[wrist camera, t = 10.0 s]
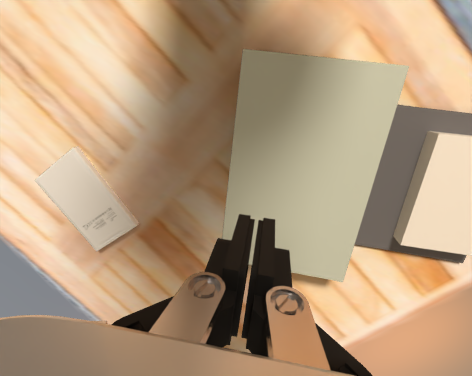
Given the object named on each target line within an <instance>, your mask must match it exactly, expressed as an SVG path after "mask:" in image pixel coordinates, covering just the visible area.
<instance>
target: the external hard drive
mask: <svg viewBox="0 0 472 376" xmlns="http://www.w3.org/2000/svg"><path fill="white" fill-rule="evenodd" d="M35 181H36V183H37V184H38V185H39V186H40V187H41V188H42V190H43V191H44V192H45V193H46V194H47V195H48V196H49V198H50V199H51V200H52V201H53V202H54V203H55V204H56V206H57V207H58V208H59V209H60V210H61V211H62V212H63V214H64V215H65V216H66V217H67V218H68V219H69V221H70V222H71V223H72V224H73V225H74V226H75V227H76V229H77V230H78V231H79V232H80V233H81V234H82V235H83V237H84V238H85V239H86V240H87V241H88V242H89V243H90V245H91V246H92V247H93V248H94V249H95V250H96V251H99V250H100V249H102V248H103V247H105V246H106V245H108V244H109V243H111V242H112V241H114V240H116V239H117V238H119V237H120V236H122V235H124V234H125V233H127V232H128V231H130V230H131V229H133V228H134V227H136V226H137V225H138V224H139V222H138V221H137V219H136V218H135V217H134V216H133V214H132V213H131V212H130V211H129V209H128V208H127V207H126V206H125V204H124V203H123V202H122V201H121V199H120V198H119V197H118V196H117V194H116V193H115V192H114V190H113V189H112V188H111V187H110V185H109V184H108V183H107V182H106V180H105V179H104V178H103V177H102V175H101V174H100V173H99V172H98V170H97V169H96V168H95V167H94V165H93V164H92V163H91V162H90V160H89V159H88V158H87V157H86V155H85V154H84V153H83V152H82V150H81V149H80V148H79V147H74V148H72V149H71V150H69V151H68V152H67V153H66V154H65V155H64V156H62V157H61V158H60V159H59V160H58V161H57V162H55V163H54V164H53V165H52V166H51V167H49V168H48V169H47V170H46V171H45V172H43V173H42V174H41V175H40V176H39V177H38V178H37V179H35Z"/></svg>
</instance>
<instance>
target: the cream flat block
mask: <svg viewBox="0 0 472 376" xmlns="http://www.w3.org/2000/svg"><path fill="white" fill-rule="evenodd" d="M393 237H394V238H395V239H396V240H397V241H398V243H399V244H400V245H404V246H410V247H417V248H423V249H430V250H437V251H443V252H450V253H457V254H463V255H470V256H472V136H471V135H461V134H452V133H442V132H433V131H428V132H427V135H426V138H425V141H424V144H423V147H422V150H421V153H420V156H419V159H418V162H417V165H416V168H415V171H414V174H413V177H412V180H411V183H410V186H409V189H408V192H407V195H406V198H405V201H404V204H403V207H402V210H401V213H400V216H399V220H398V223H397V226H396V229H395V232H394V235H393Z"/></svg>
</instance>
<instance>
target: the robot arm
mask: <svg viewBox="0 0 472 376" xmlns="http://www.w3.org/2000/svg"><path fill="white" fill-rule="evenodd" d="M254 222H255V219H251V216H250V215H244V214H239V216H238V220H237V223H236V226H235V230H234V233H233V236H232V240H226V239H220V238H218V239H217V241H216V244H215V246H214V249H213V251H212V254H211V256H210V259H209V262H208V264H207V267H206V269H205V272H199V273H196V274H193V275H191V276H190V277H188V278H187V279H186V281H185V282H184V283H183V285H182V286H181V288H180V289H179V290H178V292H177V293H176V295H175V296H173V297H171V298H168V299H166V300H164V301H161V302H159V303H156V304H154V305H152V306H149V307H147V308H144V309H142V310H140V311H137V312H135V313H132V314H130V315H128V316H125V317H123V318H121V319H119V320H117V321H115V322H114V323H113V324H112V325H108V324H107V321H86V320H80V319H74V318H67V317H61V316H48V315H47V316H46V315H21V316H14V317H6V318H0V376H372V375H371V373H370V372H369V371H368V370H367V369H366V368H365V367H364V366H363V365H362V364H361V363H359V362H358V361H357V360H356V359H355V358H354V357H353V356H352V355H351V354H349V353H348V352H347V351H346V350H345V349H344V348H343V347H342V346H340V345H339V344H338V343H337V342H336V341H335V340H334V339H333V338H332V337H330V336H329V335H328V334H327V333H326V332H325V331H324V330H323V329H321V328H320V327H319V326H318V325H317V324H316V323H315V321H314V318H313V315H312V312H311V309H310V306H309V303H308V301H307V299H306V298H305V297H304V295H303V294H302V293H300V292H299V291H297V290H296V289H293V288H292V278H291V264H290V252H289V250H286V249H280V248H275V219H269V218H263V221H262V220H259V221H258V227H257V234H256V241H255V248H254V254H253V261H252V268H251V275H250V282H249V289H248V296H247V303H246V310H245V317H244V324H243V331H242V338H246V339H247V343H246V349H249V350H250V352H251V353H252V354H251V353H246V352H241V351H237V350H232V349H227V348H222V347H224V346H225V345H230V341H231V336H236V337H237V333H238V327H239V321H240V315H241V309H242V303H243V296H244V290H245V284H246V278H247V271H248V265H249V258H250V250H251V243H252V236H253V229H254Z"/></svg>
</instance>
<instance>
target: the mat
mask: <svg viewBox="0 0 472 376" xmlns="http://www.w3.org/2000/svg"><path fill="white" fill-rule="evenodd" d="M428 131H433V132H442V133H452V134H461V135H471V136H472V114H471V113H462V112H454V111H445V110H437V109H428V108H420V107H412V106H403V105H397V108H396V111H395V114H394V117H393V121H392V124H391V127H390V130H389V134H388V137H387V140H386V143H385V147H384V150H383V153H382V156H381V160H380V163H379V166H378V169H377V173H376V176H375V179H374V182H373V186H372V189H371V192H370V196H369V199H368V202H367V205H366V209H365V212H364V215H363V218H362V222H361V225H360V228H359V231H358V235H357V238H356V241H355V244H356V245H361V246H367V247H373V248H379V249H384V250H390V251H396V252H402V253H407V254H413V255H419V256H425V257H430V258H436V259H442V260H448V261H454V262H459V263H463V262H464V260H465V258H466V255H463V254H457V253H450V252H443V251H437V250H430V249H423V248H417V247H410V246H404V245H400V244H399V243H398V241H397V240H396V239H395V238H394V237H393V235H394V232H395V229H396V226H397V223H398V220H399V216H400V213H401V210H402V207H403V204H404V201H405V198H406V195H407V192H408V189H409V186H410V183H411V180H412V177H413V174H414V171H415V168H416V165H417V162H418V159H419V156H420V153H421V150H422V147H423V144H424V141H425V138H426V135H427V132H428Z"/></svg>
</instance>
